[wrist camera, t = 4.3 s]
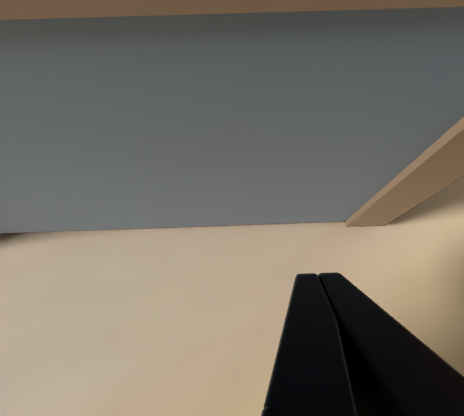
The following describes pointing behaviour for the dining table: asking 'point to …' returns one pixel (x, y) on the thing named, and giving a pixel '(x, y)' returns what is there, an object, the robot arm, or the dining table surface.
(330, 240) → the dining table surface
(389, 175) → the gate
